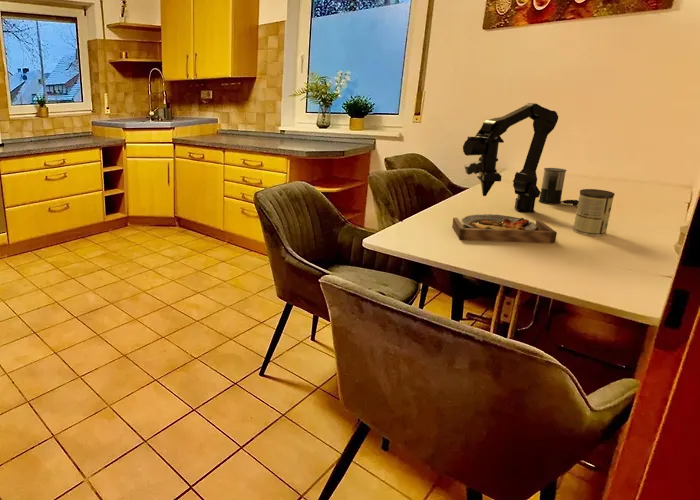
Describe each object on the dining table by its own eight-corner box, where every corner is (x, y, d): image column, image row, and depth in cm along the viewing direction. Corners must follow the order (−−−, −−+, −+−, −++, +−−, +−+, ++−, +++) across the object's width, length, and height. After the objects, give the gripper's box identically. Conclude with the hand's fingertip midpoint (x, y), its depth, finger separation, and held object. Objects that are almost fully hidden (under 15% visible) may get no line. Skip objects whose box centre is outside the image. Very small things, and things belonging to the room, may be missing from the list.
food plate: (544, 227, 158) (545, 217, 157) (523, 243, 141) (525, 232, 140) (477, 217, 173) (477, 208, 172) (450, 230, 155) (451, 220, 154)
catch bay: (539, 230, 155) (540, 220, 154) (555, 243, 141) (556, 232, 140) (452, 227, 156) (453, 217, 155) (459, 239, 142) (460, 229, 141)
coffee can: (571, 226, 160) (578, 187, 156) (602, 229, 157) (611, 190, 152) (574, 234, 151) (582, 193, 146) (608, 237, 148) (617, 196, 143)
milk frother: (536, 199, 203) (541, 166, 198) (572, 201, 201) (578, 168, 196) (544, 206, 190) (550, 171, 185) (583, 208, 187) (590, 173, 183)
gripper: (462, 151, 176) (458, 190, 181) (472, 157, 158) (467, 200, 163) (491, 152, 175) (486, 191, 180) (504, 158, 158) (498, 201, 163)
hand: (484, 195), depth 172 cm, fingers closed
